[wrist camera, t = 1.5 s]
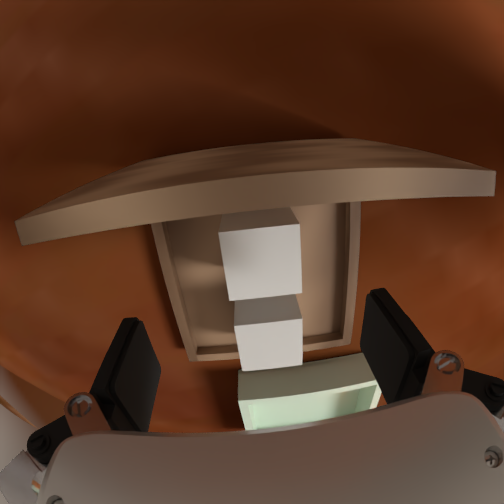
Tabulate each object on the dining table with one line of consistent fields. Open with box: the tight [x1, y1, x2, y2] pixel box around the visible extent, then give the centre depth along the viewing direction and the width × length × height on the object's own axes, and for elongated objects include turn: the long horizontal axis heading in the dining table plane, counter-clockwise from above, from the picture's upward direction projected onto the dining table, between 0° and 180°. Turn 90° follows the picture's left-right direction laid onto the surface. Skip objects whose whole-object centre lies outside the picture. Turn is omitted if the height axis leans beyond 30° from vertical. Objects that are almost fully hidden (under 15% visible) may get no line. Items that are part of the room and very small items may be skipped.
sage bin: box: [238, 353, 381, 430], centre depth 28 cm, size 14×12×4 cm
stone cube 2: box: [234, 294, 303, 371], centre depth 22 cm, size 4×4×4 cm
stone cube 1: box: [218, 207, 302, 301], centre depth 19 cm, size 4×4×4 cm
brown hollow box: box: [14, 138, 496, 361], centre depth 16 cm, size 15×17×14 cm
